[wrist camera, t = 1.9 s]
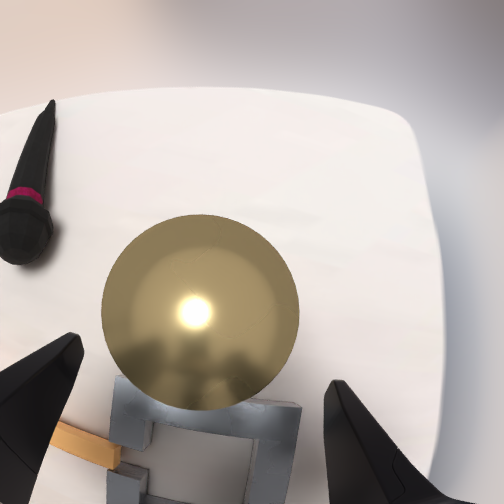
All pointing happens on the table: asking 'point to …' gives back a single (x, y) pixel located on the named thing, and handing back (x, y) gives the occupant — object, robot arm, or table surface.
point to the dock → (213, 421)
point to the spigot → (200, 312)
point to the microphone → (28, 197)
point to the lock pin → (86, 446)
